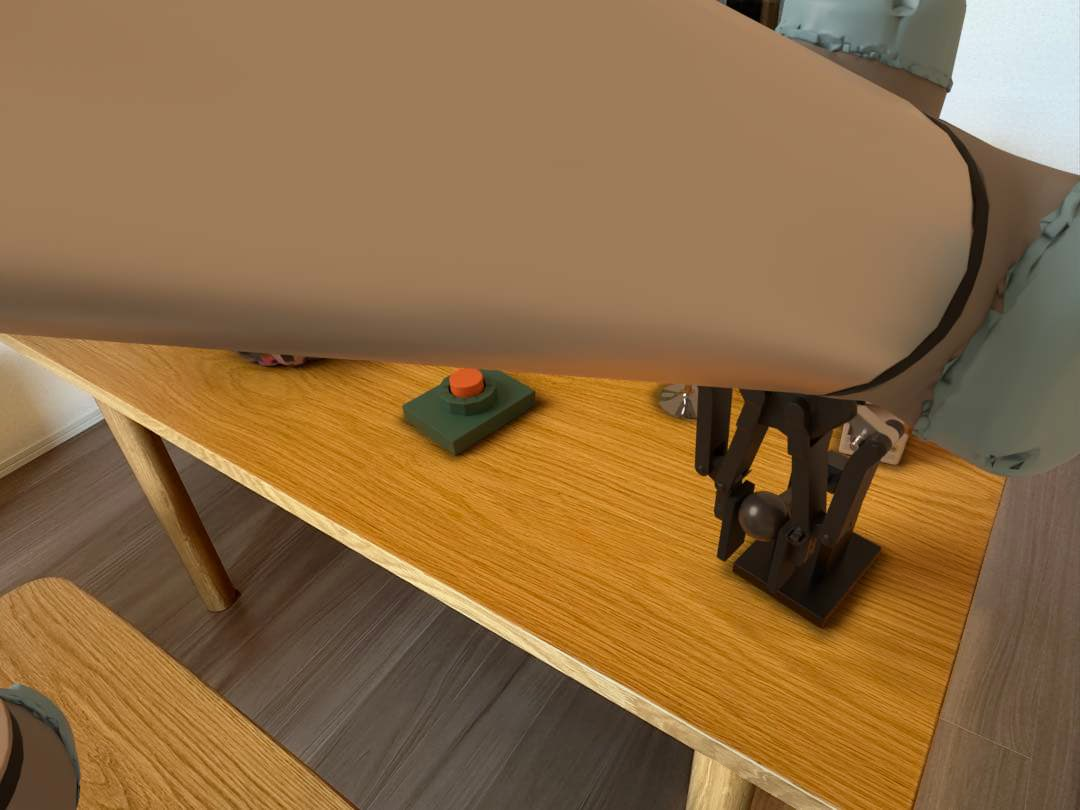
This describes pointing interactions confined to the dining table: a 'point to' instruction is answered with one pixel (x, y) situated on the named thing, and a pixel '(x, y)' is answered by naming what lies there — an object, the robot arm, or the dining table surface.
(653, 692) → the dining table surface
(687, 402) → the wine glass
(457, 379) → the button
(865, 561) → the bracket
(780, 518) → the lever
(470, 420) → the button box
